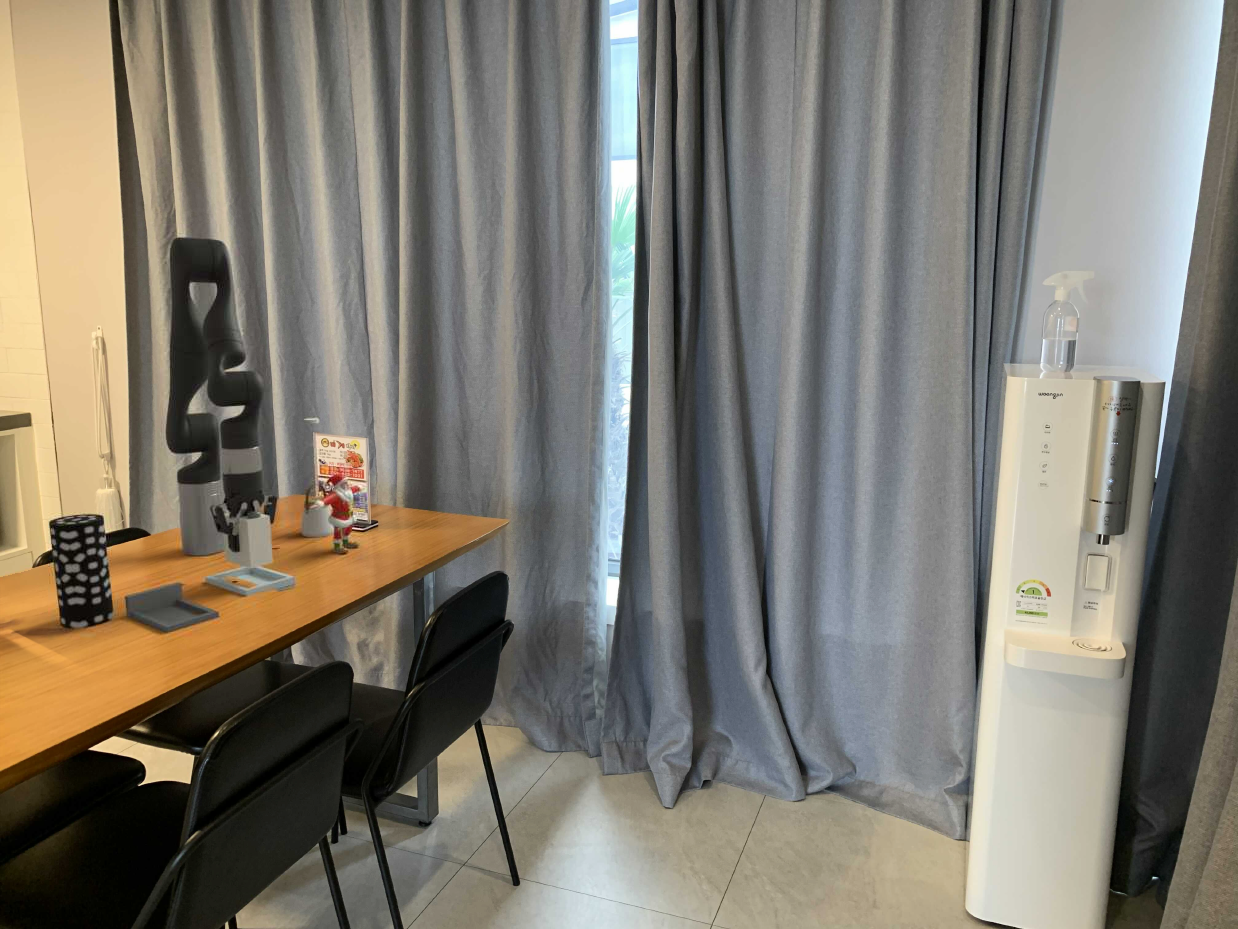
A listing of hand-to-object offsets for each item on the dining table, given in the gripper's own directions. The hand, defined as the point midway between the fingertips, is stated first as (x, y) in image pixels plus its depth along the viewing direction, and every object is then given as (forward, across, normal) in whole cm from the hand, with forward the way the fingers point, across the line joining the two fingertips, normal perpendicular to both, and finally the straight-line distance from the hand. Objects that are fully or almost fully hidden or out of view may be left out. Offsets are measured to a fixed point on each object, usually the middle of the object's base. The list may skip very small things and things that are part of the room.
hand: (248, 548), depth 175 cm
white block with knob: (+3, 0, 0) cm, 3 cm away
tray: (+8, 0, 0) cm, 8 cm away
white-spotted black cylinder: (+9, +30, -4) cm, 31 cm away
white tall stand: (+8, -35, -25) cm, 44 cm away
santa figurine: (+8, -29, -7) cm, 31 cm away
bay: (+8, +20, +7) cm, 23 cm away
